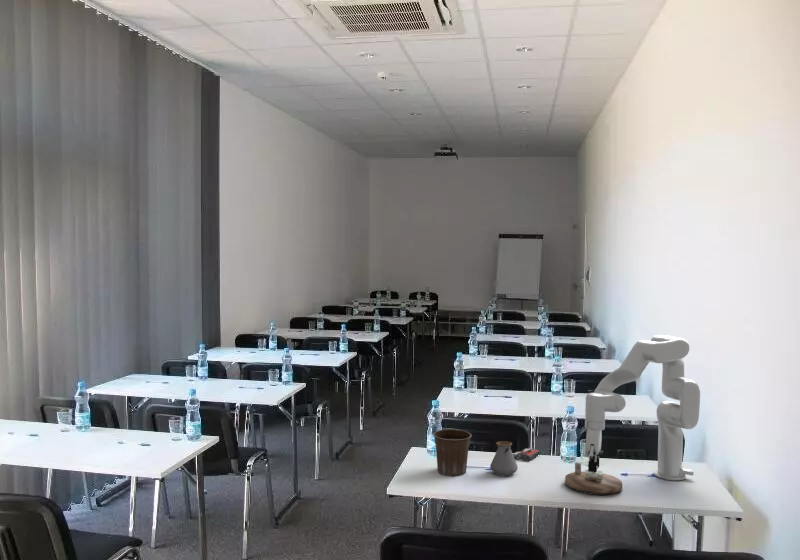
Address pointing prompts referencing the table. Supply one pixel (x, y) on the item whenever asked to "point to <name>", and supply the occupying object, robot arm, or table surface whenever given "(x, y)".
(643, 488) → the table surface
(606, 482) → the turntable platter
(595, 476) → the valve
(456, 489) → the table surface
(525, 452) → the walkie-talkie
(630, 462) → the table surface
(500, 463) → the coffee pot
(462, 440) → the plant pot
